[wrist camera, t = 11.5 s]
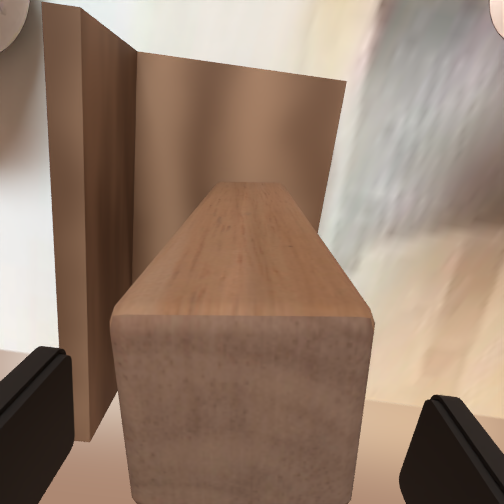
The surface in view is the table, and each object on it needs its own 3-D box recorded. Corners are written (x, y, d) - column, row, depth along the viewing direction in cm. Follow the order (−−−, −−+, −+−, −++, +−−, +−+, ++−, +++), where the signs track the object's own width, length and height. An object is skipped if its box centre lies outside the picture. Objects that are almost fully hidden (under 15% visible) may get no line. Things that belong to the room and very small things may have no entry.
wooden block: (279, 306, 25) (336, 656, 8) (218, 305, 25) (145, 655, 8) (284, 181, 22) (386, 313, 5) (215, 180, 22) (95, 310, 5)
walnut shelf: (329, 92, 25) (391, 52, 14) (282, 348, 32) (299, 463, 21) (138, 65, 25) (41, 1, 13) (132, 331, 32) (64, 439, 20)
